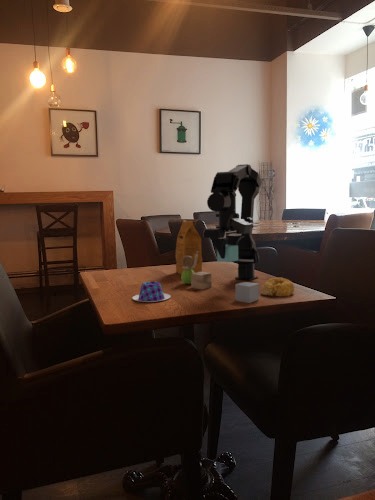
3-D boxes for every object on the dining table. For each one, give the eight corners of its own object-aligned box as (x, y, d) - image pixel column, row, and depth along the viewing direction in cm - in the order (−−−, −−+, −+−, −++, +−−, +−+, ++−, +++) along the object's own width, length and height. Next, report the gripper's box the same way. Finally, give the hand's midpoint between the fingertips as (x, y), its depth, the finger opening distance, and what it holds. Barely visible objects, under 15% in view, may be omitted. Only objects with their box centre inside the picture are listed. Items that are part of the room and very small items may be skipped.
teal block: (226, 259, 142) (226, 244, 141) (238, 260, 138) (238, 245, 138) (217, 260, 138) (216, 246, 137) (229, 262, 135) (229, 246, 134)
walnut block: (200, 285, 148) (200, 271, 147) (211, 287, 145) (211, 273, 144) (191, 287, 144) (191, 273, 144) (202, 289, 141) (202, 275, 140)
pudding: (150, 293, 139) (150, 277, 138) (178, 297, 131) (178, 281, 131) (124, 300, 129) (123, 284, 129) (152, 306, 122) (152, 288, 121)
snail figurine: (197, 285, 147) (196, 252, 146) (179, 285, 149) (179, 252, 147) (200, 282, 153) (199, 250, 151) (183, 282, 154) (182, 250, 153)
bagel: (254, 292, 135) (253, 278, 134) (282, 289, 139) (282, 275, 139) (271, 299, 126) (271, 283, 125) (301, 295, 130) (301, 280, 130)
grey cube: (245, 297, 128) (244, 281, 128) (258, 300, 125) (258, 283, 124) (235, 300, 125) (235, 284, 124) (249, 303, 121) (249, 286, 121)
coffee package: (195, 270, 180) (194, 219, 177) (204, 274, 168) (203, 220, 165) (173, 271, 177) (171, 220, 174) (181, 276, 165) (179, 221, 162)
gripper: (230, 211, 124) (230, 263, 126) (263, 209, 138) (263, 255, 140) (201, 211, 131) (202, 260, 133) (235, 209, 145) (236, 253, 147)
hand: (227, 257), depth 138 cm, fingers closed on teal block, 5 cm apart
